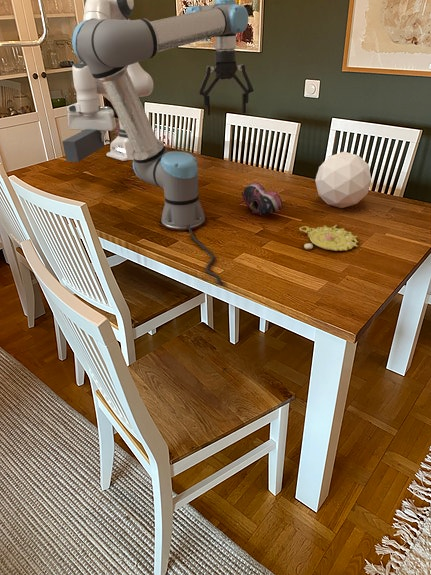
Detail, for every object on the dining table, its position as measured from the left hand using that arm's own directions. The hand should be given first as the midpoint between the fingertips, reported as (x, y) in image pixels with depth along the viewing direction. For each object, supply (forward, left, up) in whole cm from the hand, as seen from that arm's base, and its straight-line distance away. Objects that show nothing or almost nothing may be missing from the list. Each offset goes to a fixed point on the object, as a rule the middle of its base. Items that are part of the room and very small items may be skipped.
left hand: (95, 140), depth 187 cm
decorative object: (+107, -6, -17) cm, 109 cm away
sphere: (+101, +24, -17) cm, 105 cm away
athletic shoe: (+77, +3, -17) cm, 79 cm away
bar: (+3, -9, -3) cm, 9 cm away
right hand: (+55, +18, +12) cm, 59 cm away
